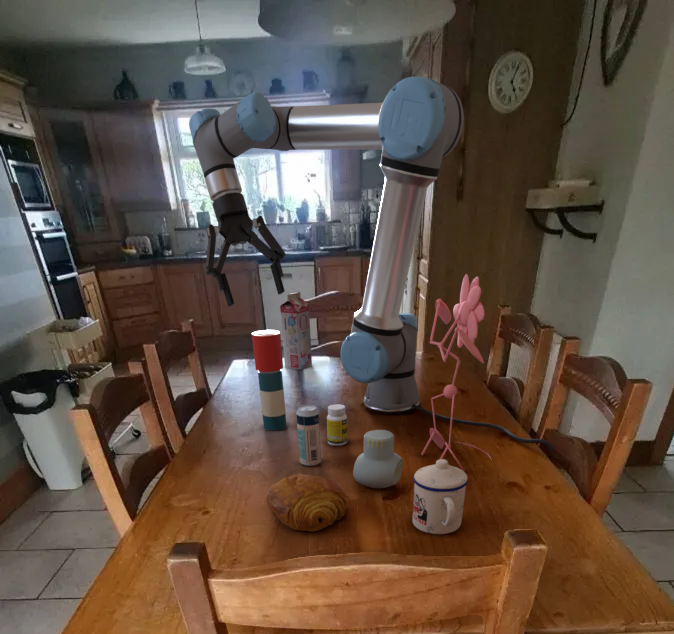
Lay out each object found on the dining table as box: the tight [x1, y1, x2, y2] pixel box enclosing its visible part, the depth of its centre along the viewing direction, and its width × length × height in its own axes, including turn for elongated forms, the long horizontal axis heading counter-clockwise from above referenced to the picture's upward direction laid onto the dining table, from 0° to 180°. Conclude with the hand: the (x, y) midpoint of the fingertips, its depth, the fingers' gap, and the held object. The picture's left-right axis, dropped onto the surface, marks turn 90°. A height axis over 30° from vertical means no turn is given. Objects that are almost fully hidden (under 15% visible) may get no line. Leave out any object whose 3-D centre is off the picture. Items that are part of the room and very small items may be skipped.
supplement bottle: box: [326, 403, 348, 447], centre depth 127 cm, size 5×5×8 cm
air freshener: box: [352, 429, 404, 489], centre depth 108 cm, size 11×8×10 cm
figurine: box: [420, 273, 492, 472], centre depth 109 cm, size 15×26×35 cm, turn 9°
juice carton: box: [279, 291, 313, 370], centre depth 181 cm, size 7×7×22 cm
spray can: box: [257, 369, 288, 432], centre depth 135 cm, size 6×6×14 cm
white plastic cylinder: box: [295, 404, 322, 467], centre depth 117 cm, size 5×5×12 cm
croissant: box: [265, 472, 351, 532], centre depth 99 cm, size 14×16×8 cm
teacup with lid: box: [411, 458, 469, 535], centre depth 93 cm, size 12×9×12 cm
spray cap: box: [251, 329, 284, 372], centre depth 129 cm, size 7×7×8 cm
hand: (256, 299), depth 133 cm, fingers open, 13 cm apart
